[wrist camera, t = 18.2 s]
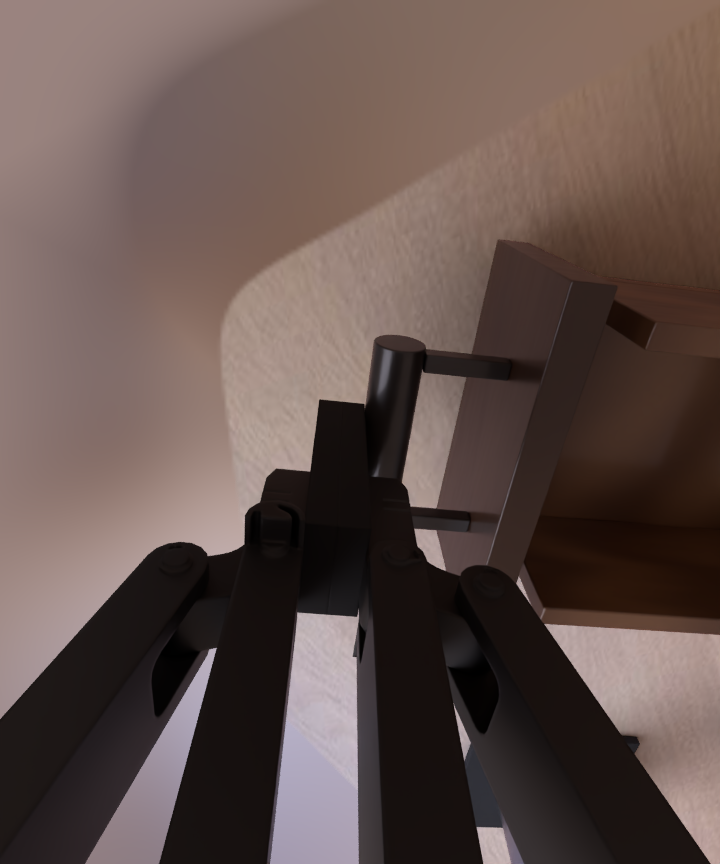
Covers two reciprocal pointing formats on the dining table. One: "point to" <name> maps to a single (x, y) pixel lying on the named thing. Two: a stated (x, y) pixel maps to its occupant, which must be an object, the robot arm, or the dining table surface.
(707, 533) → the drawer
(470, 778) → the desk mat
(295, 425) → the dining table surface
